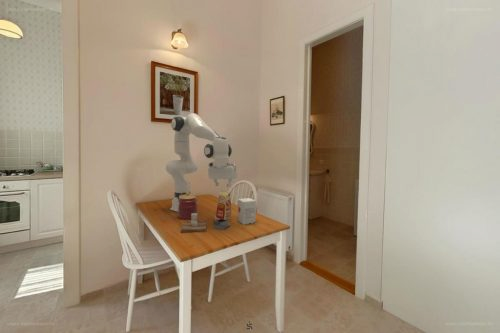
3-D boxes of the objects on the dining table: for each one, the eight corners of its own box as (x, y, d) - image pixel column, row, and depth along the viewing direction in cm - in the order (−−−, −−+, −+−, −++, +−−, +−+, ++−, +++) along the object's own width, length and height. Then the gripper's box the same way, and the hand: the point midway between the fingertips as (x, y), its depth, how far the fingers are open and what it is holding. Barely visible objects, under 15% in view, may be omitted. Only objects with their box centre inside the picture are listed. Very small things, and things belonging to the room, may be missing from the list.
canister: (194, 220, 146) (194, 194, 145) (175, 219, 147) (175, 193, 145) (199, 214, 159) (199, 190, 158) (181, 214, 160) (181, 190, 158)
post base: (183, 224, 137) (183, 211, 137) (206, 223, 140) (206, 210, 139) (180, 232, 123) (180, 217, 123) (206, 231, 126) (206, 217, 125)
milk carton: (214, 218, 149) (215, 190, 148) (222, 215, 158) (222, 188, 156) (226, 221, 146) (226, 191, 144) (233, 217, 154) (233, 189, 153)
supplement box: (237, 220, 146) (237, 198, 145) (249, 219, 150) (249, 197, 149) (243, 225, 138) (243, 201, 137) (255, 223, 142) (256, 200, 141)
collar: (213, 227, 133) (213, 220, 133) (222, 224, 138) (222, 218, 138) (220, 229, 129) (220, 223, 129) (228, 227, 133) (228, 220, 133)
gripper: (238, 163, 129) (239, 186, 129) (213, 163, 140) (214, 185, 141) (232, 163, 124) (233, 187, 124) (206, 164, 135) (207, 186, 135)
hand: (222, 186), depth 132 cm, fingers open, 8 cm apart
